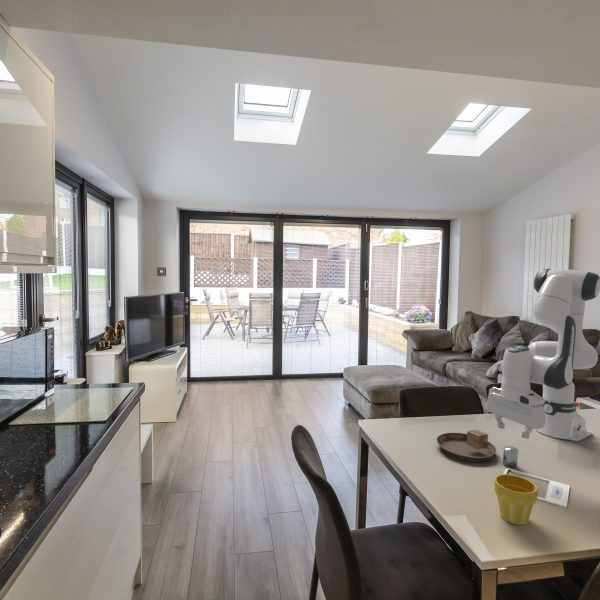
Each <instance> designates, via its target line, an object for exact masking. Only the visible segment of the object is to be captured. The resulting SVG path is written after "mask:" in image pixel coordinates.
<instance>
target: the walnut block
mask: <svg viewBox="0 0 600 600" xmlns="http://www.w3.org/2000/svg"><path fill="white" fill-rule="evenodd" d="M466 434H467V445H469V446H471V447H474V448H476V449H482V448H487V445H488V442H489V441H488V440H489V434H488V433H487V432H484V431H482V430H480V429H477V428H475V429H470V430H467V432H466Z"/></svg>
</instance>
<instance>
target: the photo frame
mask: <svg viewBox="0 0 600 600" xmlns="http://www.w3.org/2000/svg"><path fill="white" fill-rule="evenodd" d="M510 470H511V471H510ZM508 471H510V472H511V473H515V474H518V475H522V476H525V477H529V478H533V479H536V480H540V481H543V482H545V483H546V482H547V483H548V486H547V491H546V495H545V497H544V498H543V497H539V496H537V501H538V500H539V501H542V502H544V503H548V504H550V505H551V504H552V505H554V506H558V507H561V508H564V509H567V507H568V502H569V495H570V494H569V493H570V490H571V489H570V488H571V485H569V484H564V483H563V482H559V481H555V480H551V479H546V478H543V477H541V476H536V475H533V474H529V473H526V472H522V471H519V470H517V469H513V468H508V467H505V469H504V472H503V474H508Z"/></svg>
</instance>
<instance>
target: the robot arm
mask: <svg viewBox="0 0 600 600" xmlns="http://www.w3.org/2000/svg"><path fill="white" fill-rule="evenodd" d="M533 289H534V290H535V291H536V293H537V296H536V298H535V301H534V304H533V308H532V313H533V315H534V318H535V320H537V321H538V322H539V323H540V324H542V325H543V326H544V327H546V328H548V329H551V331H553V332H555V334H558V335H557V338H558V339H557V340H556V341H554V340H553V341H552V340H540V341H538V340H537V341H533V342H531V343H530V344H528V346H526V345H520V344H517V345H510V346H508V347H506V348H505V349H504V353H503V359H502V367H501V368H502V369H501V371H502V378H501V379H502V380H501V385H500V388H497V386H492V387H490V388H489V390H488V395H487V400H486V406H485V407H486V410H487V412H489V413H491V414H494V418H495V420H496V423H497V428H499V429H503V430H504V429H505V426H506V425H505V423H504V422H503V419H502V418H504V419H506V420H509V421H512V422H515V423H517V424H520V425H523V426H525V427H524V429H526V430H524V431H523V432H521V437H522V438H524V439H526V440H527V439H529V438H530V434H531V433H532V431H533V430H536V431H537V432H539V433H541V434H543V435H545V436H548V437H551V438H556V439H561V440H569V441H573V442H579V441H581V440H583V439H586V438H587V437H588V438H589V436H591V435H593V432H592V431H591V430H589V429H588V428H586V424H587V423H586V419H585V418H584V417H583V416H582V415H581V414H580V413H579V412H578V411H577V408H579V407H580V406H581V403H580V402H577V401H576V400H575V388H576V387H575V384H574V382H573V379H574V370H585V369H591V368H594V367H595V366H596V364H597V362H598V361H599V356H598V352H597V350H596V349H595V347H594V346H592V345H591V344H590V343H589V342H588V341H587V340H586V338H585V336H584V333H583V324H584V321H583V320H584V316H585V309H586V302H588V301H591V300H594V299H595V298H597V297H598V295H599V294H600V276H599V274H597V273H594V272H590V271H581V270H577V269H576V270H575V269H552V268H542V269H539V271H537V273H536V274H535V276H534V279H533ZM530 382H531V383H534V384H539V385H542V396H541V395H539V394H538V393H537V392H535V391H534V390H532V389H531V383H530ZM574 400H575V401H574Z"/></svg>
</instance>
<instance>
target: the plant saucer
mask: <svg viewBox="0 0 600 600" xmlns="http://www.w3.org/2000/svg"><path fill="white" fill-rule="evenodd" d="M436 443H437V445H438V446H439V448H440V449H441V450H442V452H444V453H445V454H446V455H448V456H450V457H452V458H453V459H456V460H461V461H465V462H471V463H472V462H473V463H479V462H480V463H481V462H486V461H487V460H488V461H489V460H490V459H491V458H493V457H494V456H495V454H496V453H497V448H496V447H495V445H494V444H493V443H492V442H490V441H488V445H487V448H482V449H476V448H474V447H471V446H469V445H467V433H464V432H463V433H462V432H446V433H442V434H439V435H438V436H437V437H436Z"/></svg>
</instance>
